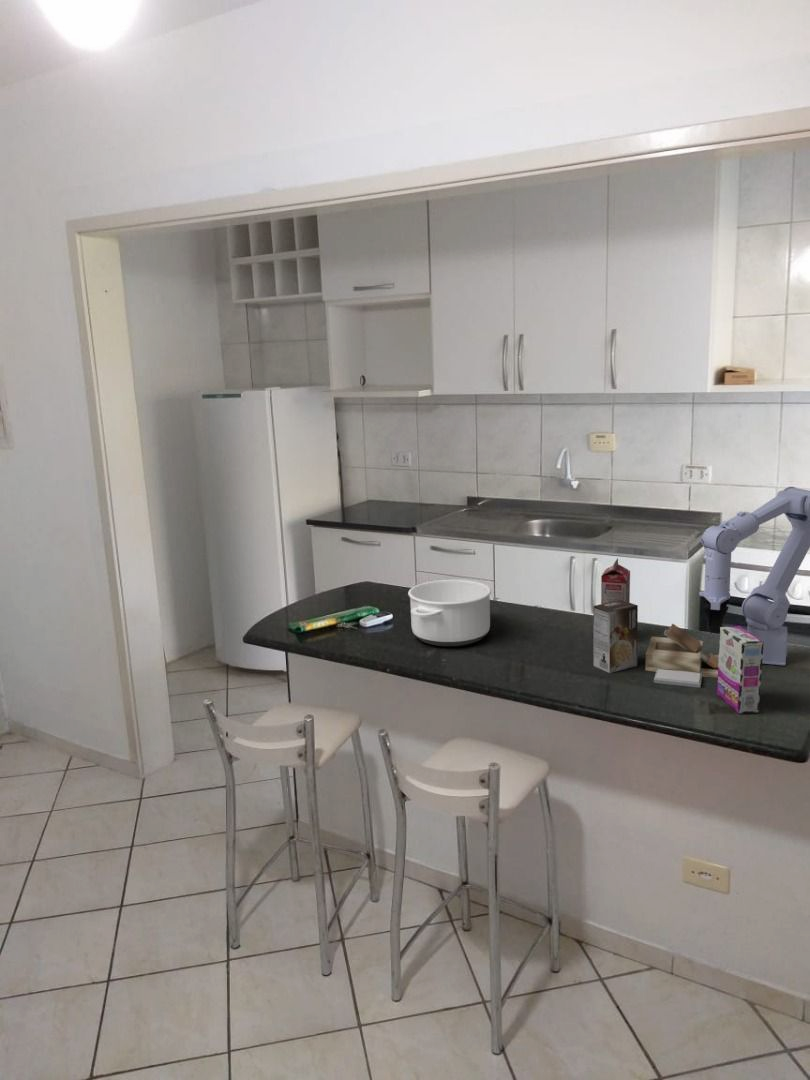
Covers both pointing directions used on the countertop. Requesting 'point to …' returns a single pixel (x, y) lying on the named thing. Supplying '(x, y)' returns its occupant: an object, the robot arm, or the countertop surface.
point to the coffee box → (615, 635)
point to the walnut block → (683, 638)
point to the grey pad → (678, 678)
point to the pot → (450, 612)
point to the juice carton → (615, 584)
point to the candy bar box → (739, 669)
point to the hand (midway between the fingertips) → (715, 629)
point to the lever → (710, 660)
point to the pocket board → (675, 657)
